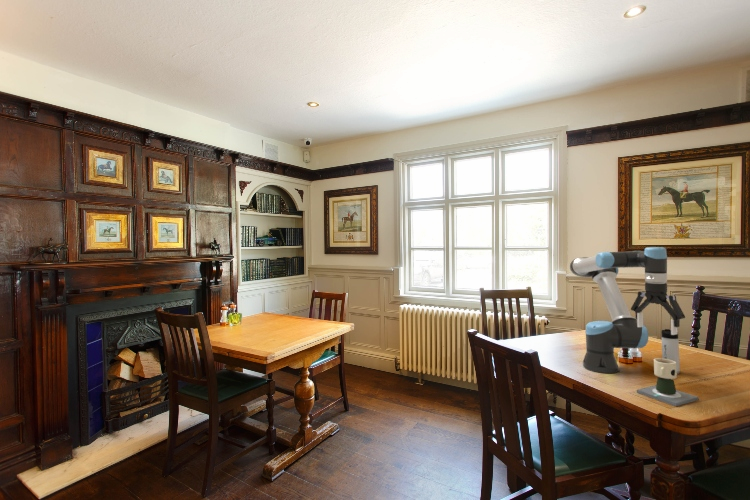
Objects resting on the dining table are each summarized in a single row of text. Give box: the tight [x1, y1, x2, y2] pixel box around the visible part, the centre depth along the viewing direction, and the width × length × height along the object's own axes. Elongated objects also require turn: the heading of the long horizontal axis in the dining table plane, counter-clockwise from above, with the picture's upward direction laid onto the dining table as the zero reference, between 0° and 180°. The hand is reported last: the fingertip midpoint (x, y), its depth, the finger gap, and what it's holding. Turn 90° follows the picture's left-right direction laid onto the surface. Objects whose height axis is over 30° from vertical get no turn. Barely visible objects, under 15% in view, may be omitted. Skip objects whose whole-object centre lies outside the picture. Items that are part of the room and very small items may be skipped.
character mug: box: [653, 357, 678, 394], centre depth 139 cm, size 11×7×13 cm, turn 130°
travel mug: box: [660, 328, 681, 375], centre depth 165 cm, size 6×7×20 cm
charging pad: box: [636, 384, 699, 407], centre depth 139 cm, size 14×14×2 cm
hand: (656, 330), depth 149 cm, fingers open, 13 cm apart
